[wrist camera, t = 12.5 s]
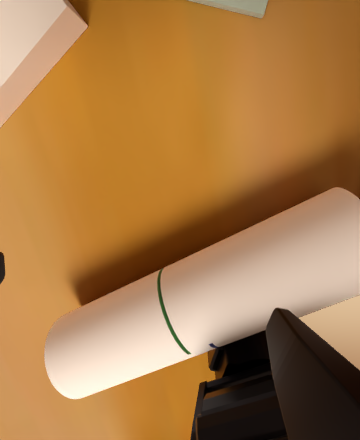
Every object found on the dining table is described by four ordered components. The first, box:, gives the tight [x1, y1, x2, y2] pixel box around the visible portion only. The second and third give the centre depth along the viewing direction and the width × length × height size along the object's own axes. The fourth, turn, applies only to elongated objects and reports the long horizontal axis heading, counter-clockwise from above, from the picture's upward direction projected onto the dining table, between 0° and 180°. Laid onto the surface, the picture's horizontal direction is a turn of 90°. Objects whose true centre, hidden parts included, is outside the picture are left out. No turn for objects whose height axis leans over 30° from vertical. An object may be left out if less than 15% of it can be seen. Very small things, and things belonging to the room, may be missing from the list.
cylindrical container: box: [44, 187, 360, 399], centre depth 20 cm, size 7×7×25 cm
